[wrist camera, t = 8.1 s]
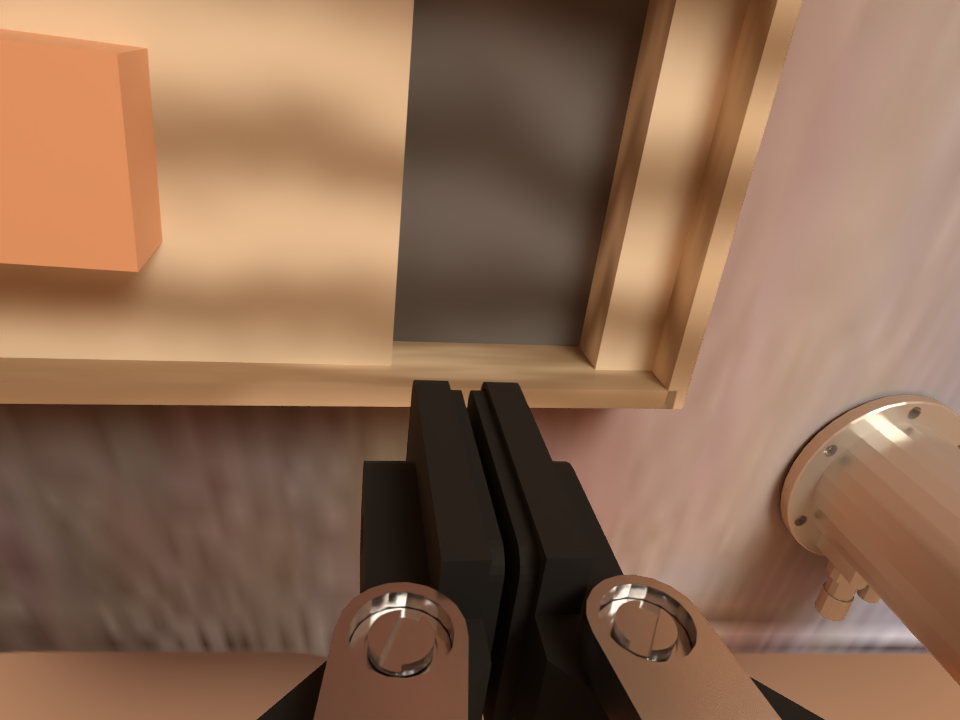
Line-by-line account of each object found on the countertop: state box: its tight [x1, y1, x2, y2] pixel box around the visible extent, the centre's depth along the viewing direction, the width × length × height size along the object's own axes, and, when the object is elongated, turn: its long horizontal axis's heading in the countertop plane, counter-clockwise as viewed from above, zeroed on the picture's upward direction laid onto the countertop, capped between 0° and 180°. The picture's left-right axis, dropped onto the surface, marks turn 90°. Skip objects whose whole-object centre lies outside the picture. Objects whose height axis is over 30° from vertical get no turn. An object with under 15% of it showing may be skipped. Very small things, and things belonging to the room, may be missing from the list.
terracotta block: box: [0, 29, 163, 272], centre depth 22 cm, size 7×7×4 cm
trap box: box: [0, 0, 803, 409], centre depth 25 cm, size 20×46×5 cm, turn 83°
